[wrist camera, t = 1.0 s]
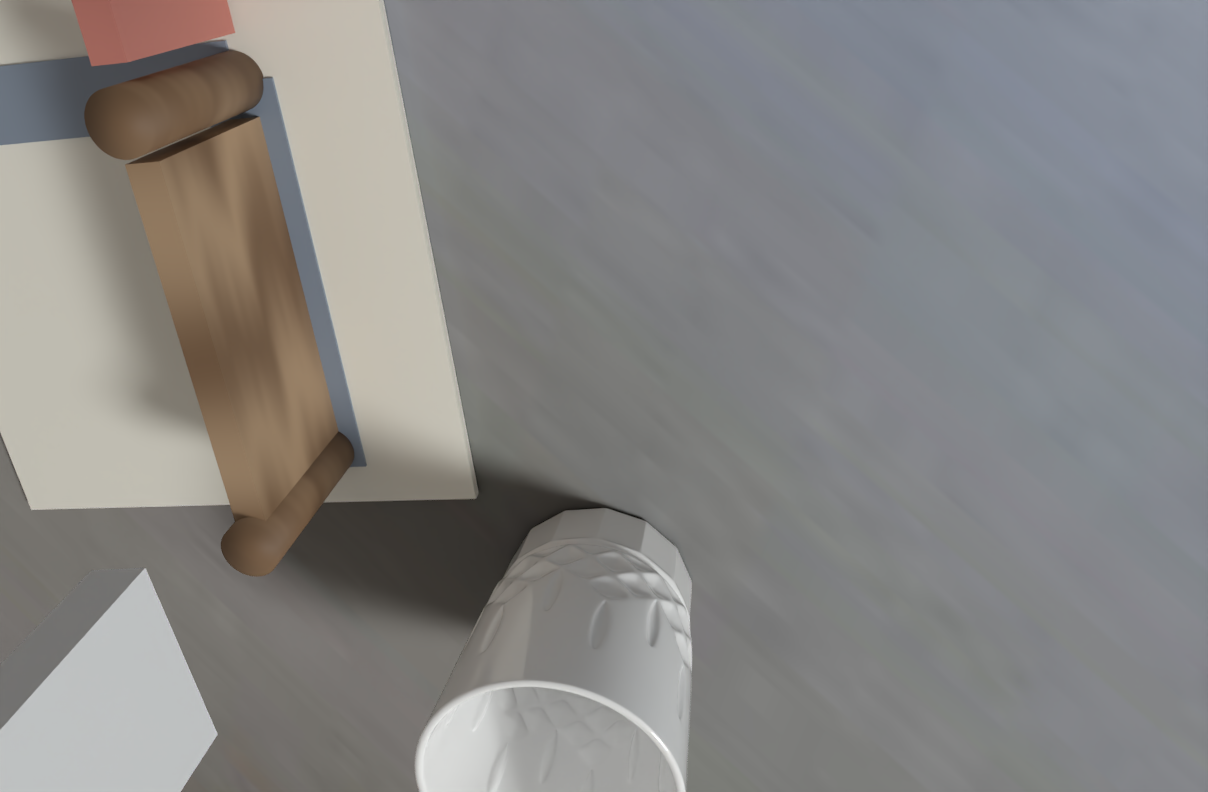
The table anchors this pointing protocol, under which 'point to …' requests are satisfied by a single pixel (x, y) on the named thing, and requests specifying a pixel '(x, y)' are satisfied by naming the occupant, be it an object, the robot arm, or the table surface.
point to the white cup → (572, 669)
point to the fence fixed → (230, 292)
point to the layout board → (134, 290)
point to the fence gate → (147, 26)
